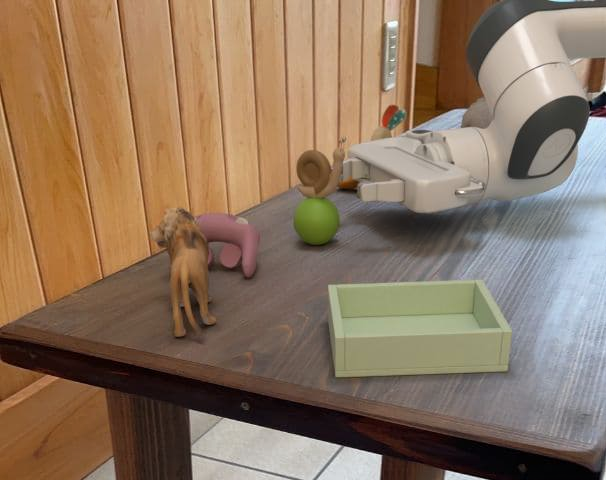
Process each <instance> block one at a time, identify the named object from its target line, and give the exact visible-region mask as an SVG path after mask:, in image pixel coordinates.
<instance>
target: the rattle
mask: <svg viewBox="0 0 606 480" xmlns="http://www.w3.org/2000/svg"><path fill="white" fill-rule="evenodd" d="M407 114H408V113H407V112H406V109H403V108H400V107H399V106H398V105H397V104H389V105H388V106H387V107H386V108H385V110H384V112H383V114H382V117H381V126H378V127H377V128H375V129H374V130H373V132H372V135H371V139H370V141H374V140H379V139H385V138H391V137H393V136H392V132H391V131H393V130H394V129H396V127H398V126H399V125H400V124H402V123H403V122H404V121H406V120H407ZM359 183H360V182H358V181H357V180H355V179H351V178H349V179H345V180H343V182H339V184H338V186H337V189H342V190H354V189H357V185H358V184H359Z"/></svg>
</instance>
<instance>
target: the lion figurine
mask: <svg viewBox="0 0 606 480" xmlns="http://www.w3.org/2000/svg"><path fill="white" fill-rule="evenodd" d="M163 217H164V218H163V219H162V220H161V221H160V222H159V224H158V225H157V226H156V227H154V228H153V229H151V231H150V232H149V235H150V236H151V238H152V240H153V242H154V243H156V244H157V247H158V248H159V249H164V248H166V252H167V254H168V259H169V258H170V262H171V264H172V266H171V272H170V279H169V280H170V281H169V293H170V301H171V305H172V318H173V322H174V328H175V329H174V330H173V335H174V337H176V338H180V337H184V336H186V334H187V331H186V329H185V326H184V321H183V314H182V308H184V310H185V314H186V317H187V319H188V321H189V323H190V325H191V327H192V328H193V330H194V332H195V336H196V337H198V338H199V339H204V338H205V337H206V334H205V332H204V331H203V329H202V327H201V326H200V325H199V324H198V323H197V321H196V319H195V317H194V314H193V311H192V307H191V302H190V294H189V293H190V291H189V289H190V290H191V291H192V293H193V295H194V296H195V298H196V300H197V302H198V304H199V314H200V317H201V318H202V321H203V324H204V325H206V326H207V325H208V326H212V325H214V324H216V323H217V319H216V317H214V316H213V315H210V312H209V306H208V303H211V302H212V299H213V298H212V297H211V296H210V295H209V288H210V287H209V285H210V283H209V281H210V280H209V279H210V272H209V267H208V256H209V248H208V245H207V239H206V237H205V236H204V235H203V233H202V230H201V227H200V226H199V224H198V223H197V222H196V221H195V218H194V215H192V214H191V212H190V211H188V210H186V209H185V208H183V207H179V206H173V207H169V208H165V209H164V215H163Z"/></svg>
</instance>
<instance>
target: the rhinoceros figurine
mask: <svg viewBox="0 0 606 480" xmlns="http://www.w3.org/2000/svg"><path fill="white" fill-rule="evenodd" d="M492 119H494V118H493V115H492V113H491V111H490V108H489V106H488V104H487V101H486V99H485V97H479V98H478V99H476V101H475V102H472V103H471V104H470V106H469V107H468V108H467V110H466V111H465V112H464V114H463V115H462V118H461V123H460V128H466V127H477V128H481V129H486V128H487V127H488V126H489V125H490V124H491V122H492Z"/></svg>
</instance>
